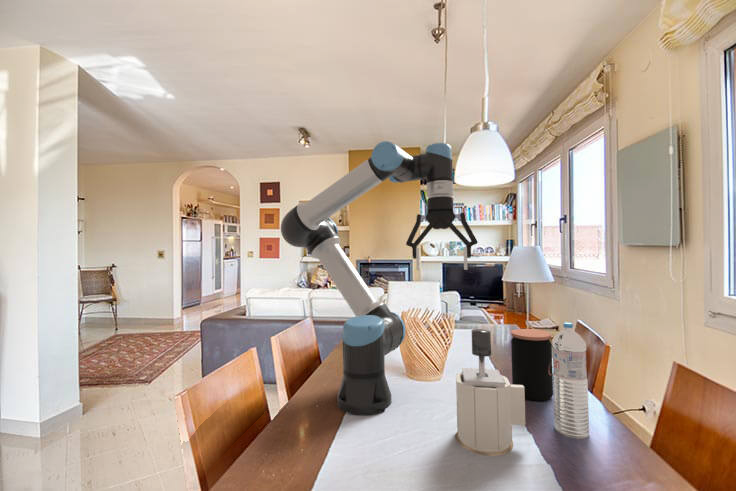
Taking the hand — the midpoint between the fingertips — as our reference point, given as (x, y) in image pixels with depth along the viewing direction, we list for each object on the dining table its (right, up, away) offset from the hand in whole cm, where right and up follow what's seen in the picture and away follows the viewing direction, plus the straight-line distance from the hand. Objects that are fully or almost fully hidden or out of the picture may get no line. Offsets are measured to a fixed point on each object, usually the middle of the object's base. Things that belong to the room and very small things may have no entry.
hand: (441, 269), depth 100 cm
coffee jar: (+26, -37, -1) cm, 45 cm away
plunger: (+4, -34, -25) cm, 42 cm away
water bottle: (+25, -36, -22) cm, 49 cm away
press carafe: (+5, -35, -25) cm, 44 cm away
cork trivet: (+4, -36, -25) cm, 44 cm away
